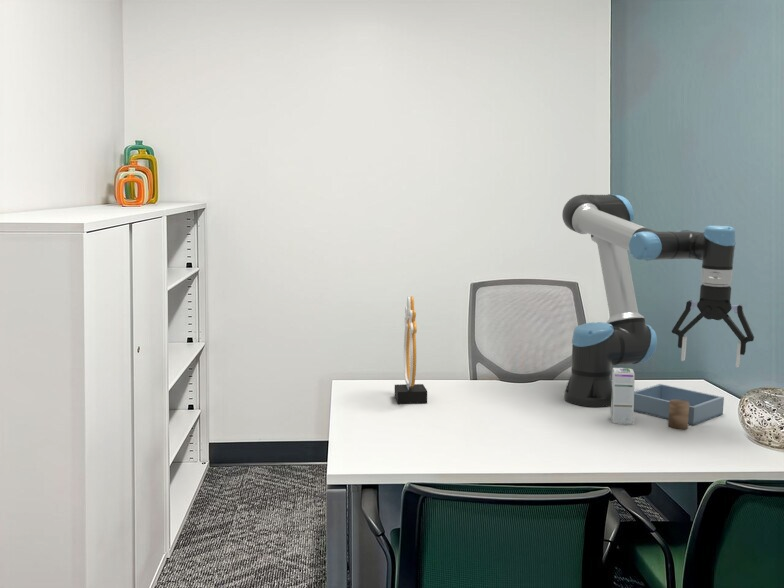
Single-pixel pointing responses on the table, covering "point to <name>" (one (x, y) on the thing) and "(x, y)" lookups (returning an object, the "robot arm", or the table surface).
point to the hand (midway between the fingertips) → (709, 363)
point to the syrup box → (622, 395)
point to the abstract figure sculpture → (410, 362)
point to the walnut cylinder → (678, 414)
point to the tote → (660, 395)
